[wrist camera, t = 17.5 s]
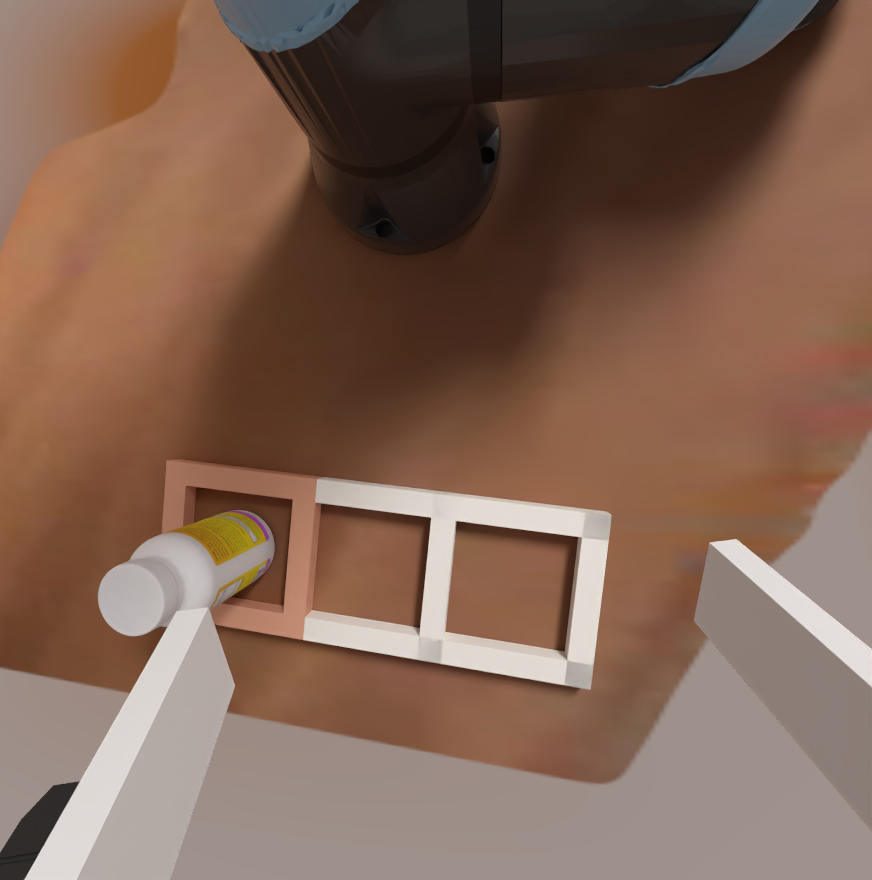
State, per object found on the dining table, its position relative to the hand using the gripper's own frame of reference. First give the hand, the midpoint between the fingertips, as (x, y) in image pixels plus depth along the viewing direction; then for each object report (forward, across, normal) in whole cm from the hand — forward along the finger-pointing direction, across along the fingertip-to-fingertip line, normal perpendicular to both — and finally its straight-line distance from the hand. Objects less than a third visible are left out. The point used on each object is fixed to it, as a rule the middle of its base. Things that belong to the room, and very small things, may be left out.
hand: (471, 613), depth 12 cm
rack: (+24, -5, -16) cm, 29 cm away
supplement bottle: (+27, -16, -15) cm, 35 cm away
